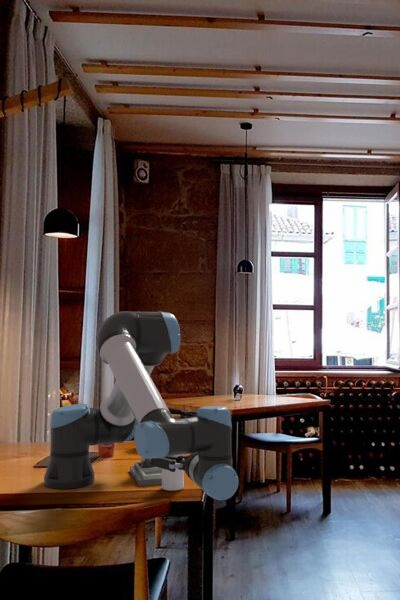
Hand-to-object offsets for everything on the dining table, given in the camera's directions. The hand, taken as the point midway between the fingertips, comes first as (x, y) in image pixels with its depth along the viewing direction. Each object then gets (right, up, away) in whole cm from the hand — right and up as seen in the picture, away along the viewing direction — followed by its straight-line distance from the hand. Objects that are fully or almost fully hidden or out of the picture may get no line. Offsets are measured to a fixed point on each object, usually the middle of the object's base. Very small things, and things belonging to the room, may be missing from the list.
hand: (181, 452), depth 148 cm
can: (-3, -13, +9) cm, 16 cm away
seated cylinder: (-11, -13, +27) cm, 32 cm away
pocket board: (-10, -14, +22) cm, 28 cm away
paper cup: (-30, -17, +53) cm, 63 cm away
